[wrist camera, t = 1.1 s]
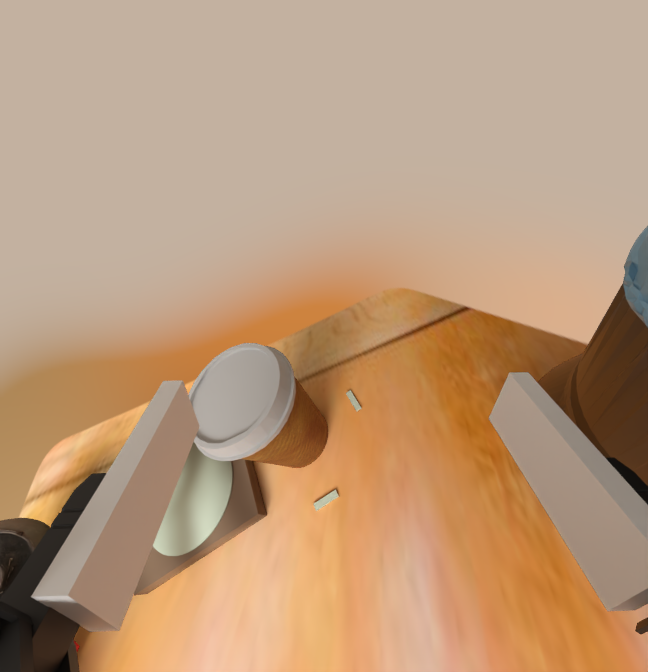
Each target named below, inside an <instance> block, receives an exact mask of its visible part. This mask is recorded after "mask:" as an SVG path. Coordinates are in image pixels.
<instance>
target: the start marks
mask: <svg viewBox="0 0 648 672" xmlns="http://www.w3.org/2000/svg"><path fill="white" fill-rule="evenodd" d="M346 394H347V396H348V398H349V399H350V401H351V403H352V404H353V406H354V408H355V410H356V411H359V410H360V409H362V408H361V406H360V405H359V403H358V401H357V400H356V398H355V397H354V395H353V393H352V392H351V390H350V391H348V392H347V393H346ZM337 497H339V495H338V493H337V491H336V490H334V491H332V492H331V493H329V494H328V495H326V496H325V497H323V498H322V499H320V500H319V501H317V502H316V503H314V506H315V509H316V511H317V510H319V509H320V508H322V507H324V506H325V505H327V504H328V503H330V502H331V501H333V500H334V499H336V498H337Z"/></svg>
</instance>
